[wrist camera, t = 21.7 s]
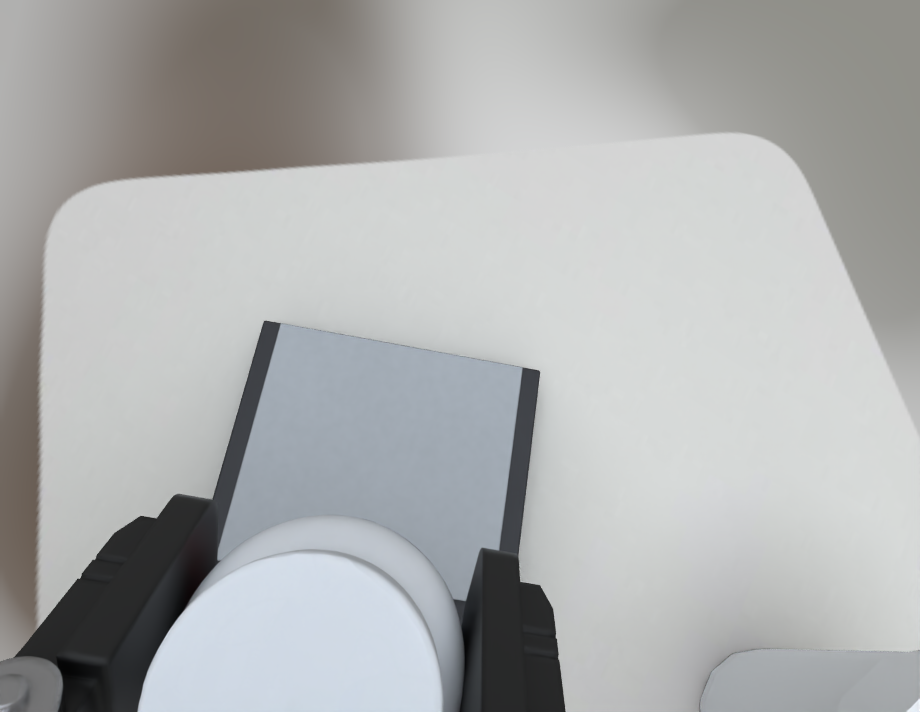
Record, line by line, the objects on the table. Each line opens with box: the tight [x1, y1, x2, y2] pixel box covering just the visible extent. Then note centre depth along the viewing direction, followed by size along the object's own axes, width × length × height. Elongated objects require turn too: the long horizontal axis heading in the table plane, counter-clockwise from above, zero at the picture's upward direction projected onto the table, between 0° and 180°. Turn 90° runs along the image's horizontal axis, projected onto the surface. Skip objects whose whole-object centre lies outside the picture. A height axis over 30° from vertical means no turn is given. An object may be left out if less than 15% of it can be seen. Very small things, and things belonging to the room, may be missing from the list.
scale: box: [213, 321, 540, 628], centre depth 28 cm, size 14×13×3 cm
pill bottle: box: [137, 515, 465, 712], centre depth 12 cm, size 5×5×9 cm
